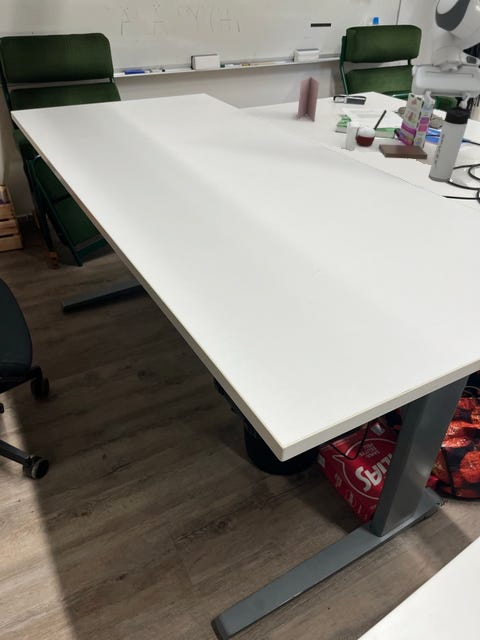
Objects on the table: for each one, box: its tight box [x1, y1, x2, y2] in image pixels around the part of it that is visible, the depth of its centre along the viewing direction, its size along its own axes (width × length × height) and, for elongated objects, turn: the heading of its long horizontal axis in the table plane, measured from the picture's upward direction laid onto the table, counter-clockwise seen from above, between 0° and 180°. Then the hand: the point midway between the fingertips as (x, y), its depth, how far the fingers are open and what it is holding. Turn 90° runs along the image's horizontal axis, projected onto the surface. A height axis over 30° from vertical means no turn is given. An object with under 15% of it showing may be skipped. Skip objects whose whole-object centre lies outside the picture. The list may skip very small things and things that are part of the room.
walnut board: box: [378, 143, 429, 160], centre depth 164 cm, size 14×10×2 cm
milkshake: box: [344, 120, 362, 152], centre depth 162 cm, size 5×5×10 cm
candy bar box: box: [397, 92, 437, 150], centre depth 168 cm, size 11×5×16 cm, turn 10°
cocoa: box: [356, 109, 388, 147], centre depth 167 cm, size 10×6×12 cm, turn 68°
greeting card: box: [296, 76, 320, 122], centre depth 191 cm, size 11×7×15 cm, turn 154°
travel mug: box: [428, 105, 471, 183], centre depth 139 cm, size 6×7×20 cm
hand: (447, 107), depth 141 cm, fingers open, 8 cm apart
